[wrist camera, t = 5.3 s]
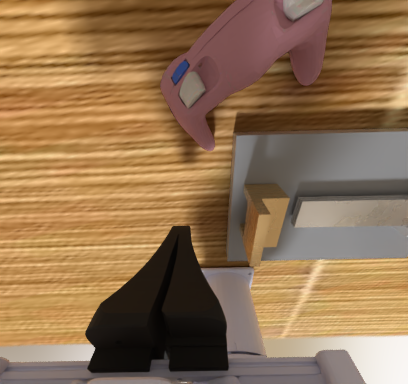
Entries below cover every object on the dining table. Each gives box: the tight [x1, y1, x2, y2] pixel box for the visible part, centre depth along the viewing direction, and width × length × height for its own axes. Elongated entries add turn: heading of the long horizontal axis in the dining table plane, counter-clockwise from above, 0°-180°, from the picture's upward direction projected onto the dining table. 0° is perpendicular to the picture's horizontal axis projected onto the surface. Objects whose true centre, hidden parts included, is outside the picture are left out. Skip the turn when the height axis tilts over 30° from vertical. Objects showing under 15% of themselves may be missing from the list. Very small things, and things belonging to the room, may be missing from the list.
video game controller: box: [160, 0, 332, 151], centre depth 10 cm, size 10×5×7 cm, turn 124°
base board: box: [226, 128, 408, 261], centre depth 16 cm, size 15×22×3 cm
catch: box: [239, 184, 290, 267], centre depth 14 cm, size 5×3×4 cm, turn 1°
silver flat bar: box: [291, 195, 408, 228], centre depth 15 cm, size 3×12×1 cm, turn 91°
